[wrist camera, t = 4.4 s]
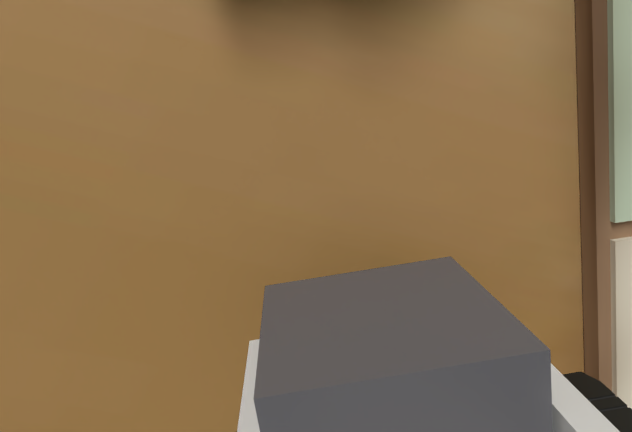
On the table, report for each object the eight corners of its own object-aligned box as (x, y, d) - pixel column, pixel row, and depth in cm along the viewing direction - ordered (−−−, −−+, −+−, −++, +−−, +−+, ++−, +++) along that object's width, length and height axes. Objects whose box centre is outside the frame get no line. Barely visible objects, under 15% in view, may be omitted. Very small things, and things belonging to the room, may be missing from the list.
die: (294, 446, 17) (299, 641, 11) (265, 286, 15) (252, 406, 9) (470, 417, 17) (574, 592, 11) (458, 255, 16) (569, 354, 10)
